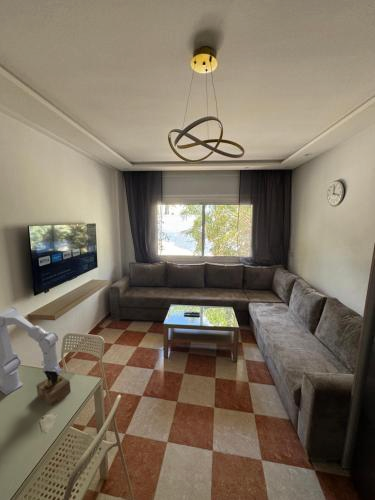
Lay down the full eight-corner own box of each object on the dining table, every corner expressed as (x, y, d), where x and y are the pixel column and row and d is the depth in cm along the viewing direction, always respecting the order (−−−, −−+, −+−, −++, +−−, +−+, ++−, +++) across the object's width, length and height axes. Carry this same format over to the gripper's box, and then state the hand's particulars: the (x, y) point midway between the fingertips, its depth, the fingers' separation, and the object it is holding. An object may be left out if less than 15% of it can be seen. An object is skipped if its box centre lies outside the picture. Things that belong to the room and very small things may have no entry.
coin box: (37, 395, 115) (36, 385, 114) (57, 382, 123) (56, 373, 122) (51, 405, 109) (50, 394, 108) (70, 391, 118) (69, 381, 116)
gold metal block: (45, 389, 113) (44, 382, 112) (57, 381, 118) (56, 375, 118) (48, 391, 112) (47, 384, 111) (60, 383, 117) (59, 376, 116)
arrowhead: (57, 408, 105) (56, 428, 97) (57, 411, 106) (56, 432, 97) (40, 415, 102) (37, 436, 94) (40, 418, 103) (38, 439, 94)
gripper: (33, 357, 113) (36, 381, 115) (50, 367, 106) (53, 392, 108) (48, 349, 119) (50, 372, 121) (64, 358, 112) (67, 382, 114)
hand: (53, 381), depth 115 cm, fingers closed on gold metal block, 2 cm apart
